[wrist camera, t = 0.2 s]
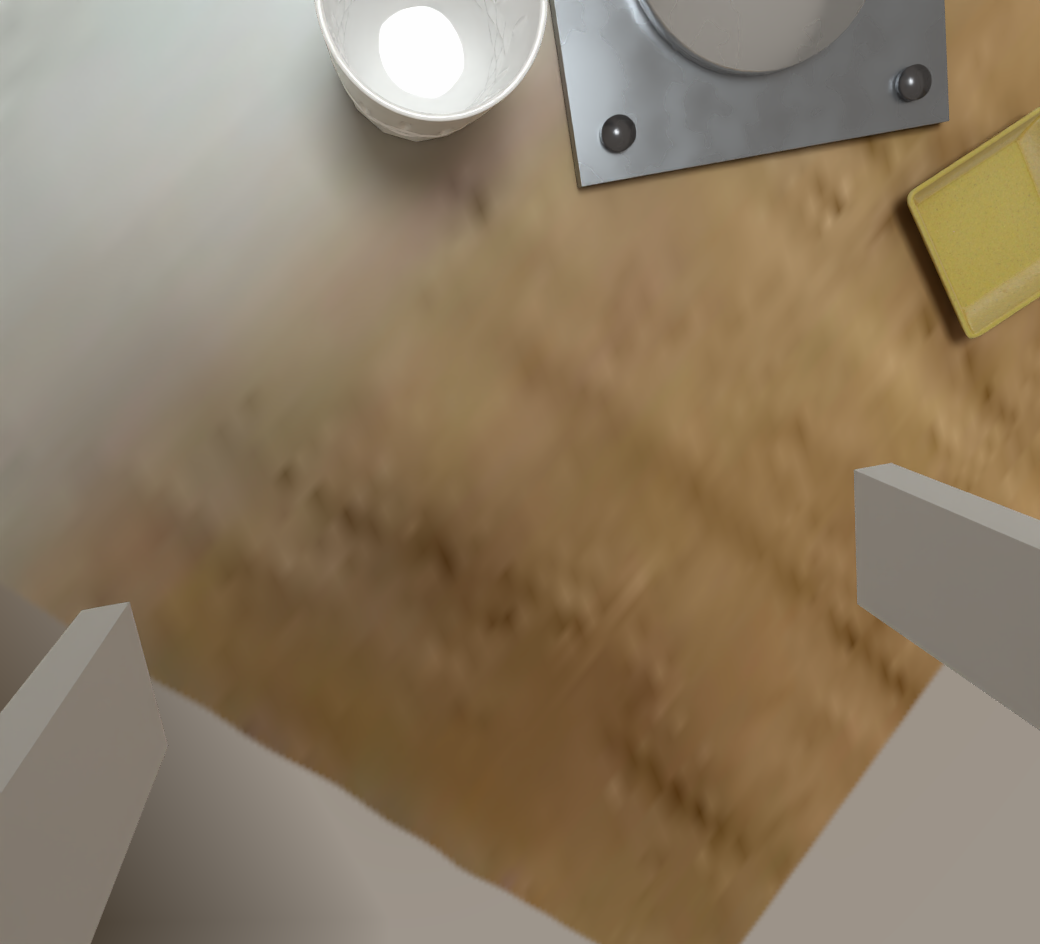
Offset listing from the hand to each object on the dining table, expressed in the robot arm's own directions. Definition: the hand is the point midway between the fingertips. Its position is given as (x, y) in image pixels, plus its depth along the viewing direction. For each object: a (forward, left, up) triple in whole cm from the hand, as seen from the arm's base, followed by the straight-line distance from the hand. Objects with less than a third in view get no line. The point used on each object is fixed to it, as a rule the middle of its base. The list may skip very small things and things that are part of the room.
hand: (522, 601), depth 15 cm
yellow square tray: (-2, +31, -28) cm, 42 cm away
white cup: (-14, +3, -28) cm, 32 cm away
